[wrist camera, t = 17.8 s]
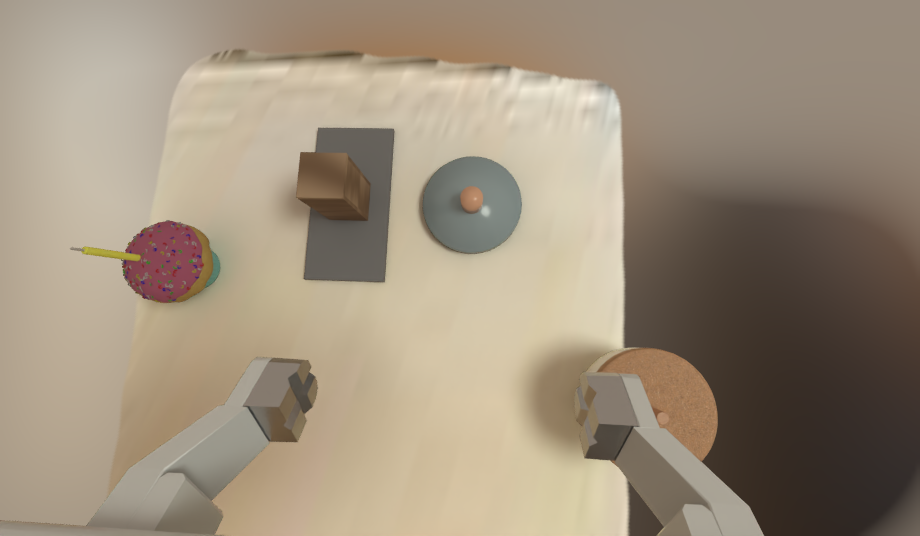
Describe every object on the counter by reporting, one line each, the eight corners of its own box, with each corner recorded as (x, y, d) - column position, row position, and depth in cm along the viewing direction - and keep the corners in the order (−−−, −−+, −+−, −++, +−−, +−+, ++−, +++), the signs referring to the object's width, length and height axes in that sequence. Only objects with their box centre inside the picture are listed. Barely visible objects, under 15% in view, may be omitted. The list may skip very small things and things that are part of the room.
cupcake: (162, 305, 42) (39, 300, 30) (168, 232, 43) (51, 200, 31) (235, 303, 42) (139, 297, 30) (239, 230, 43) (148, 196, 31)
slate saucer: (519, 255, 41) (523, 249, 38) (421, 252, 42) (417, 246, 38) (521, 161, 42) (524, 148, 39) (426, 159, 43) (422, 146, 40)
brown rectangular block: (368, 220, 42) (342, 198, 34) (330, 219, 42) (296, 197, 34) (370, 183, 42) (346, 153, 34) (333, 182, 43) (300, 152, 35)
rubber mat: (384, 282, 41) (383, 281, 41) (306, 279, 42) (304, 278, 41) (394, 130, 44) (393, 128, 43) (320, 129, 44) (318, 127, 44)
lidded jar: (687, 427, 38) (756, 463, 29) (590, 463, 38) (626, 510, 29) (645, 328, 39) (697, 331, 30) (551, 362, 39) (574, 376, 30)
